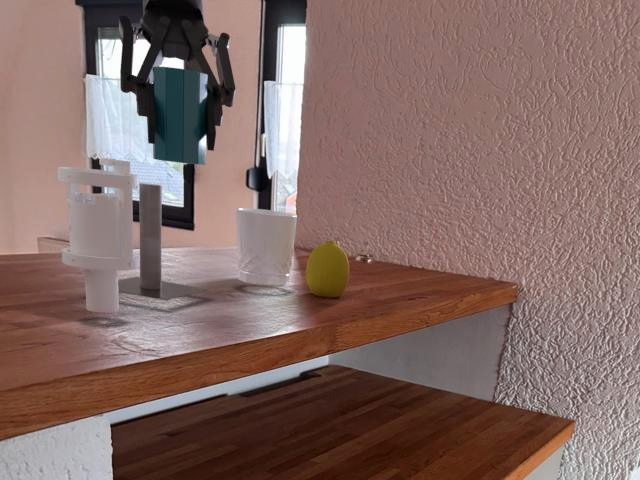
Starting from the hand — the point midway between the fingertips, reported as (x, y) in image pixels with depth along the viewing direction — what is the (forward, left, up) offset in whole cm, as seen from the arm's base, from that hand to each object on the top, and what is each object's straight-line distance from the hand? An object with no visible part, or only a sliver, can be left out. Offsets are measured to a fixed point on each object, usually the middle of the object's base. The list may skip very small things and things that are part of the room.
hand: (182, 138), depth 87 cm
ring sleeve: (-2, +3, -3) cm, 5 cm away
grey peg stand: (+1, -9, -18) cm, 19 cm away
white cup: (+8, +8, -18) cm, 21 cm away
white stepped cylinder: (+4, -23, -18) cm, 29 cm away
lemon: (+18, +5, -18) cm, 26 cm away
